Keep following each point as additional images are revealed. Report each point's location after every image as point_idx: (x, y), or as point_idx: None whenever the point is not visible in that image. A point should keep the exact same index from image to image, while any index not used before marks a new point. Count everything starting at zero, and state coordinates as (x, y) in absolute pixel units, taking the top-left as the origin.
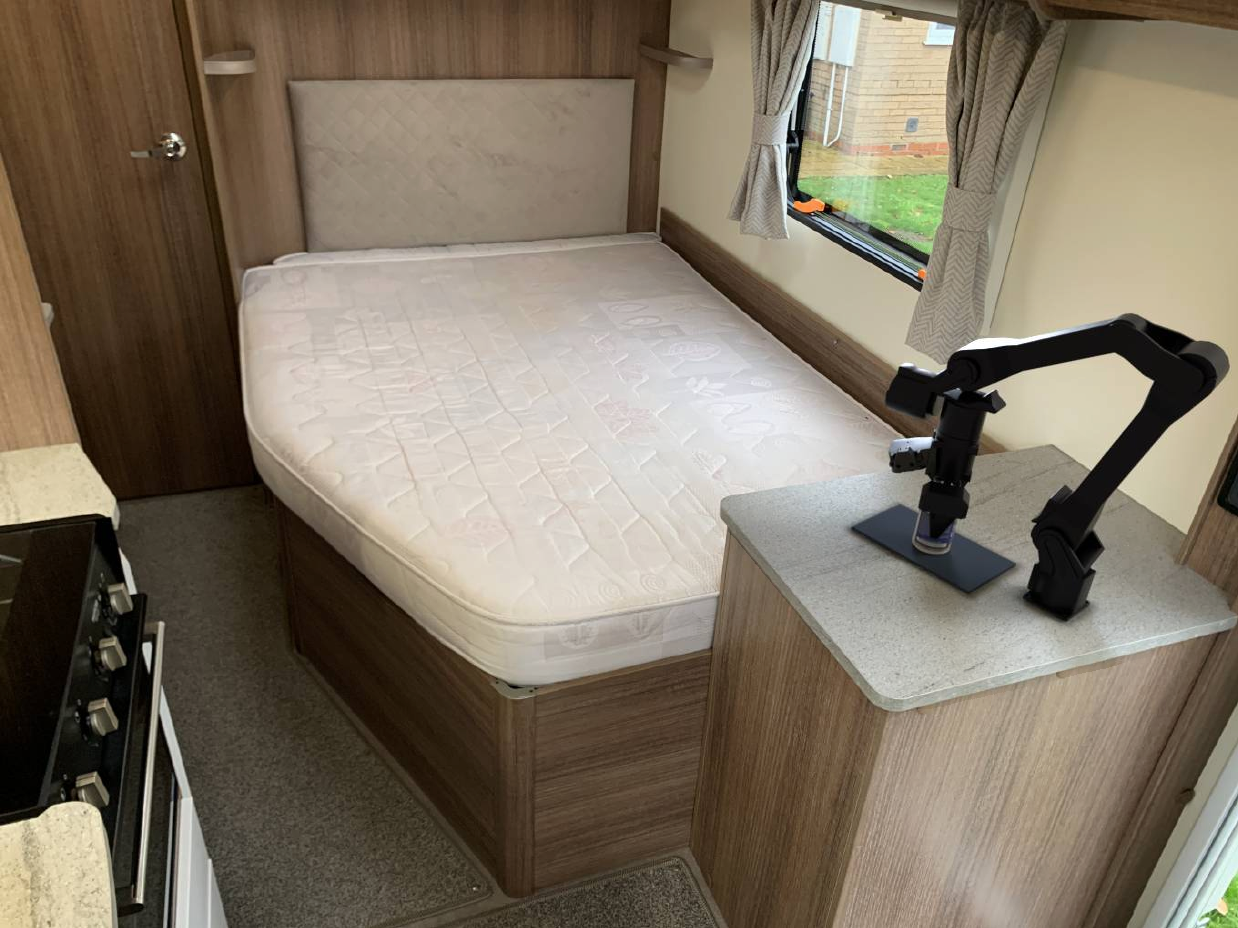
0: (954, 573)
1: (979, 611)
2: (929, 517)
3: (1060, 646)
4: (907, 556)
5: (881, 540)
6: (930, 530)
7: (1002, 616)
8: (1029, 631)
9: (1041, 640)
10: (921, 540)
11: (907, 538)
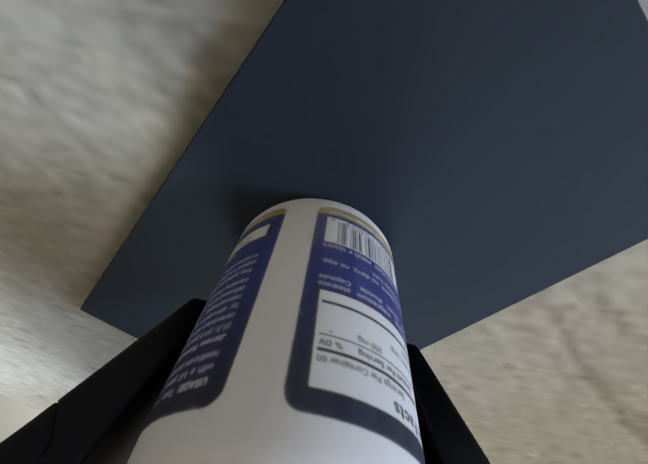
0: (159, 295)
1: (26, 308)
2: (19, 430)
3: (25, 395)
4: (189, 157)
5: (300, 23)
6: (150, 332)
7: (47, 343)
8: (31, 370)
9: (17, 378)
10: (238, 246)
11: (356, 181)
